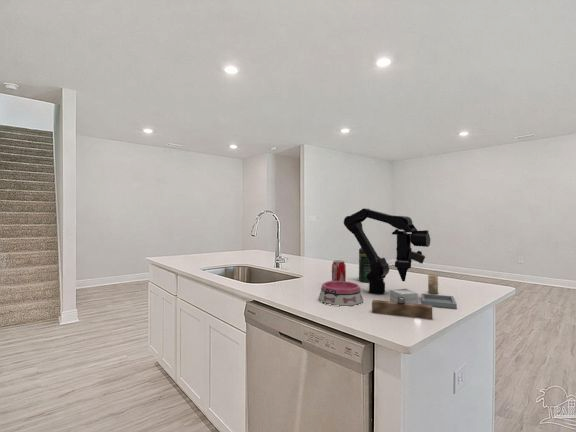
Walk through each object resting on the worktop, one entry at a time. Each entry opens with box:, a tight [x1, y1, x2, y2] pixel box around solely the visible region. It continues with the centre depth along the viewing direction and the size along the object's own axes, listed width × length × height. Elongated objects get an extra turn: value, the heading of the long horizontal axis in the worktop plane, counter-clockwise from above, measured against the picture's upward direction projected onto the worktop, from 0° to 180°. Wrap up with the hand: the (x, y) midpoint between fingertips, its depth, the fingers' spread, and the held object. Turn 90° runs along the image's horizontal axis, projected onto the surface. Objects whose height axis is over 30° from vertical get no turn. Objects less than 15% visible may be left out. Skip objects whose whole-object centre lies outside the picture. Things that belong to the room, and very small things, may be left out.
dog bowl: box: [318, 280, 364, 307], centre depth 129 cm, size 18×19×7 cm
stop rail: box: [371, 297, 433, 320], centre depth 109 cm, size 20×3×6 cm, turn 67°
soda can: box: [331, 260, 347, 282], centre depth 158 cm, size 7×7×12 cm
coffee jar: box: [358, 247, 371, 283], centre depth 167 cm, size 10×8×19 cm
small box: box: [389, 288, 418, 304], centre depth 124 cm, size 8×8×5 cm
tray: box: [420, 293, 457, 310], centre depth 123 cm, size 12×12×2 cm
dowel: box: [427, 274, 439, 295], centre depth 139 cm, size 4×4×8 cm
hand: (403, 281), depth 133 cm, fingers closed
